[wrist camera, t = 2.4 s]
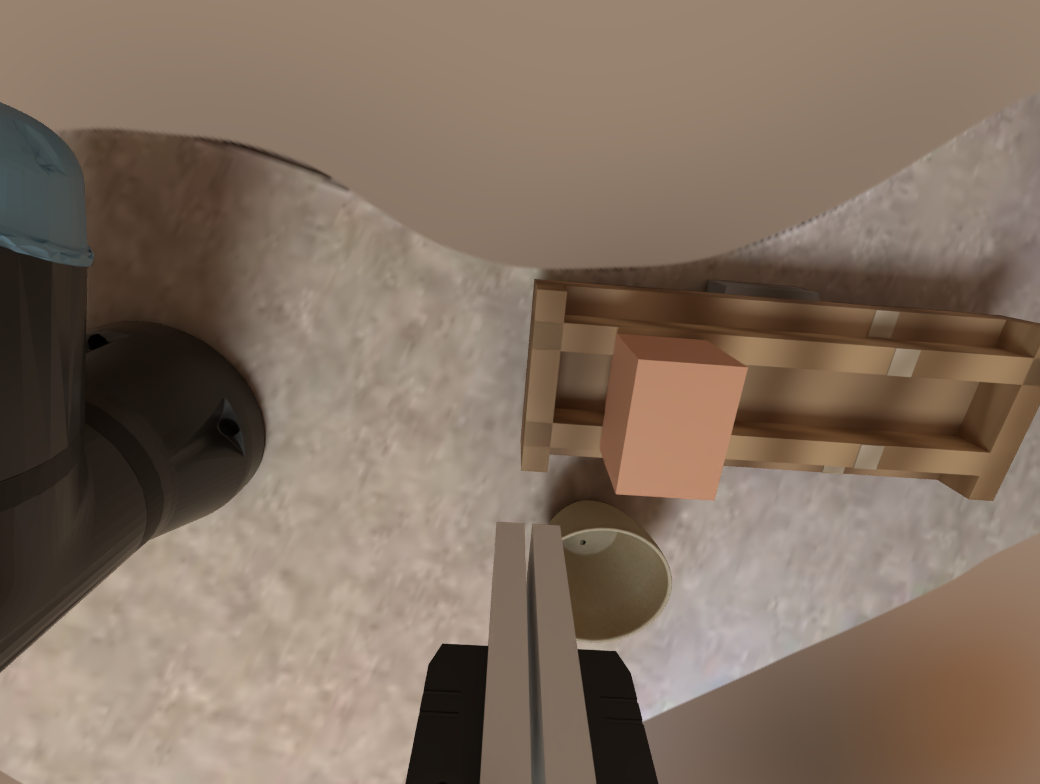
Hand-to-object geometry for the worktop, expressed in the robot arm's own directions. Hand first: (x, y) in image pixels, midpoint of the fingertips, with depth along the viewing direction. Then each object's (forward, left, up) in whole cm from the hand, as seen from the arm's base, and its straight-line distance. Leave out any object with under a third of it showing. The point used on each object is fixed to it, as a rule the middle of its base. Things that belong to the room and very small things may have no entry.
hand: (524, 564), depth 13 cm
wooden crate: (+13, +9, -22) cm, 27 cm away
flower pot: (+14, -8, -23) cm, 28 cm away
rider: (+6, +4, -17) cm, 19 cm away
